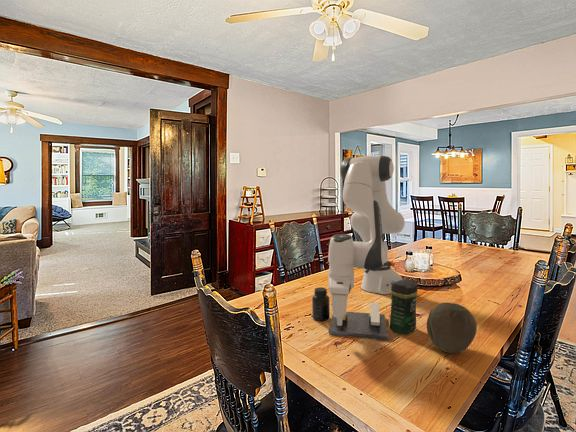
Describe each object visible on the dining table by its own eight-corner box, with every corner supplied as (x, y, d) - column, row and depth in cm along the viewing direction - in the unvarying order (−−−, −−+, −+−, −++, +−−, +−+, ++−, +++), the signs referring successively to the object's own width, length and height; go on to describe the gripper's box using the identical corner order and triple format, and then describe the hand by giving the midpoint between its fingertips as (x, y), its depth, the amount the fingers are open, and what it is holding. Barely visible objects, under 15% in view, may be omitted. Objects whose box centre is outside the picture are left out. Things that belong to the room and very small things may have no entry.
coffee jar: (407, 338, 112) (408, 286, 110) (386, 330, 118) (387, 281, 116) (419, 329, 119) (421, 279, 117) (399, 322, 125) (400, 275, 123)
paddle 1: (337, 307, 128) (337, 301, 128) (348, 308, 127) (348, 302, 127) (335, 321, 119) (334, 315, 118) (347, 322, 118) (347, 316, 117)
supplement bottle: (317, 313, 134) (317, 285, 133) (332, 317, 130) (332, 288, 129) (309, 319, 128) (308, 290, 127) (324, 323, 125) (324, 293, 123)
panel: (333, 314, 133) (333, 306, 133) (384, 318, 129) (384, 309, 128) (328, 334, 116) (328, 325, 115) (387, 340, 111) (387, 330, 111)
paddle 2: (368, 307, 125) (368, 302, 124) (380, 308, 124) (380, 303, 123) (368, 326, 117) (369, 321, 116) (381, 327, 116) (381, 322, 115)
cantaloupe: (474, 366, 95) (476, 317, 93) (422, 353, 103) (424, 308, 101) (476, 345, 107) (478, 301, 105) (429, 335, 115) (431, 293, 113)
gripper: (334, 272, 124) (334, 308, 125) (328, 289, 104) (328, 331, 105) (351, 273, 122) (350, 309, 124) (348, 291, 102) (348, 333, 104)
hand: (340, 319), depth 114 cm, fingers open, 7 cm apart
